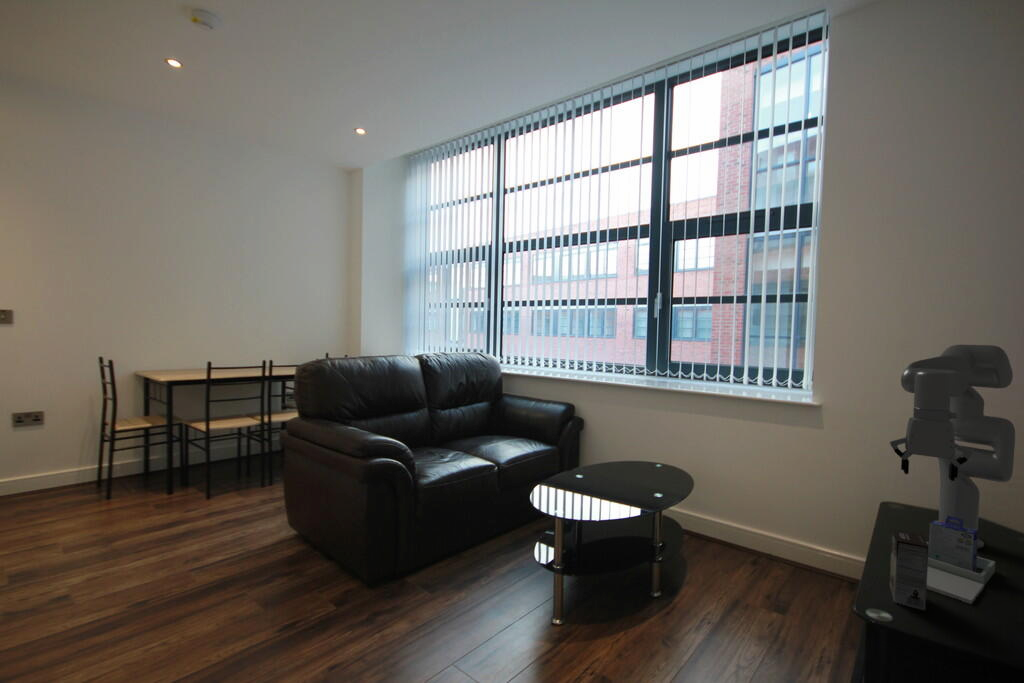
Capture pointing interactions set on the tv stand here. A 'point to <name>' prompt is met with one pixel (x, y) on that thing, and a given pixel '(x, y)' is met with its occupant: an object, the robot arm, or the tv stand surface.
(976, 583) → the tile
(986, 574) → the frame
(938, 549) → the ink cartridge box
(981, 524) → the tv stand surface
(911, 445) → the robot arm
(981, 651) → the tv stand surface
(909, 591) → the coffee box
